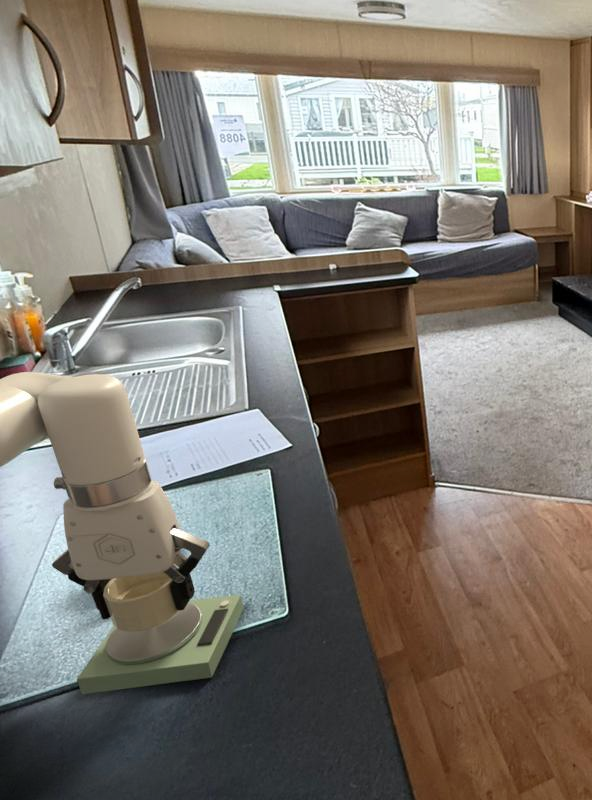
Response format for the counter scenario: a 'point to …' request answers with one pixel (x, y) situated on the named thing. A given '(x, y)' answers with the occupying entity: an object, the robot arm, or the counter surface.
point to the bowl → (139, 601)
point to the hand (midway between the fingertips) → (149, 606)
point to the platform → (154, 638)
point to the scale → (176, 666)
